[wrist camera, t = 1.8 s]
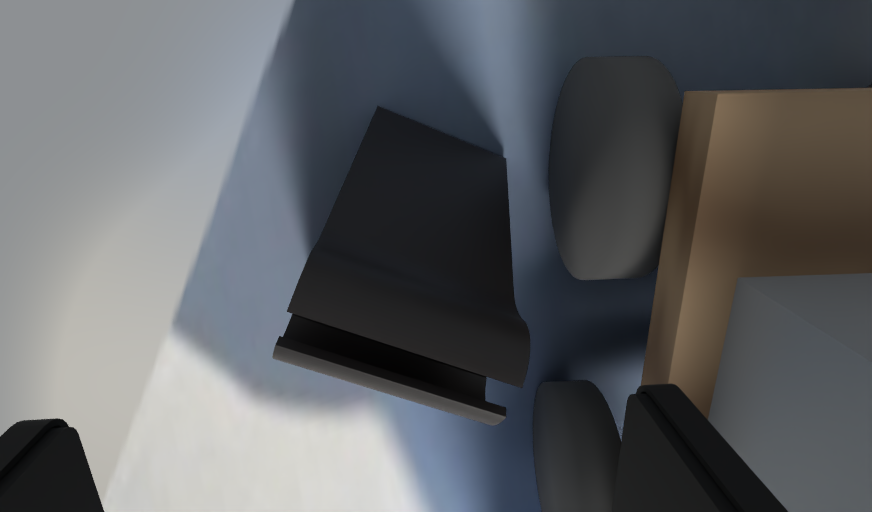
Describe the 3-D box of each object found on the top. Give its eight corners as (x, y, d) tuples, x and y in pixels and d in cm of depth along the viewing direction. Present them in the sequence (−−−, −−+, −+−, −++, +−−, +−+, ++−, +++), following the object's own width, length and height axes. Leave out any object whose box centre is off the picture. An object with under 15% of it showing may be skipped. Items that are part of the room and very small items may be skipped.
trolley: (555, 59, 21) (1083, 18, 5) (899, 53, 22) (2468, 1, 5) (529, 472, 29) (690, 1017, 12) (784, 460, 29) (1266, 962, 13)
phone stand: (378, 104, 21) (344, 141, 10) (505, 157, 22) (601, 245, 11) (313, 285, 24) (229, 473, 13) (429, 325, 25) (445, 531, 14)
